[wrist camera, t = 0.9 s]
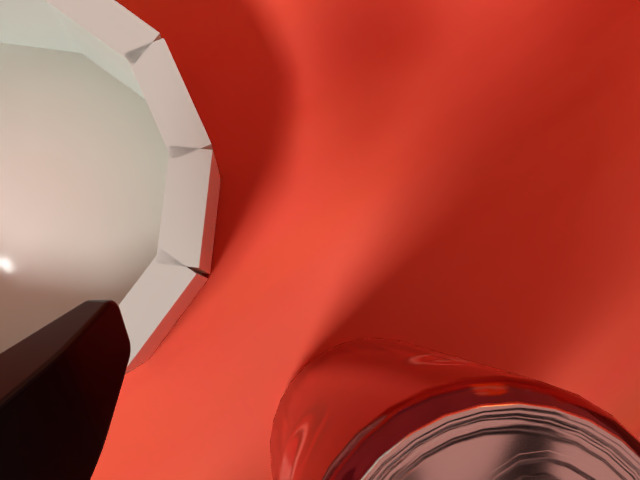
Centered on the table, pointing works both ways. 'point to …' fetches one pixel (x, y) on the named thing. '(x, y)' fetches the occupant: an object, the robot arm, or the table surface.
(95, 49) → the bowl
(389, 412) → the soda can
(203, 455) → the table surface
